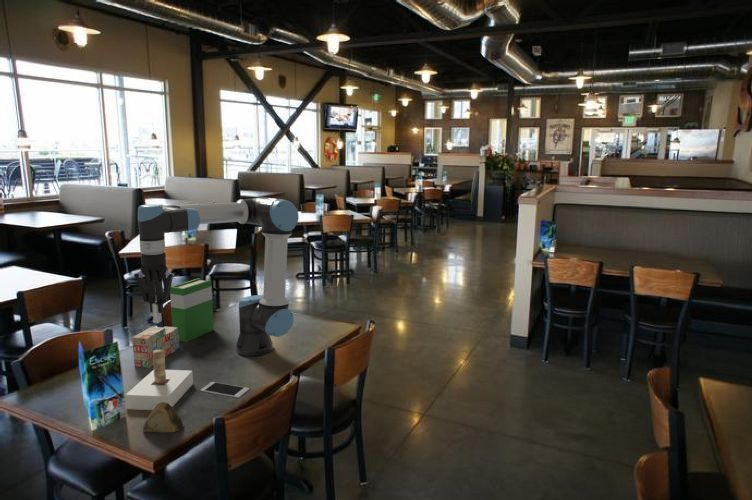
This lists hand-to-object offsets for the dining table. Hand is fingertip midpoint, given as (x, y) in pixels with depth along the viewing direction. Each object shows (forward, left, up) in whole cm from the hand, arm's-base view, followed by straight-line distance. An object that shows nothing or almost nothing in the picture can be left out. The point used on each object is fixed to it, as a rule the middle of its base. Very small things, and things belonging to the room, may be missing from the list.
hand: (157, 321), depth 175 cm
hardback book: (+12, -59, -27) cm, 66 cm away
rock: (-10, +21, -27) cm, 36 cm away
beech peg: (0, 0, -26) cm, 26 cm away
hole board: (0, 0, -26) cm, 26 cm away
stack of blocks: (+16, -32, -27) cm, 45 cm away
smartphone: (-20, -6, -27) cm, 34 cm away
